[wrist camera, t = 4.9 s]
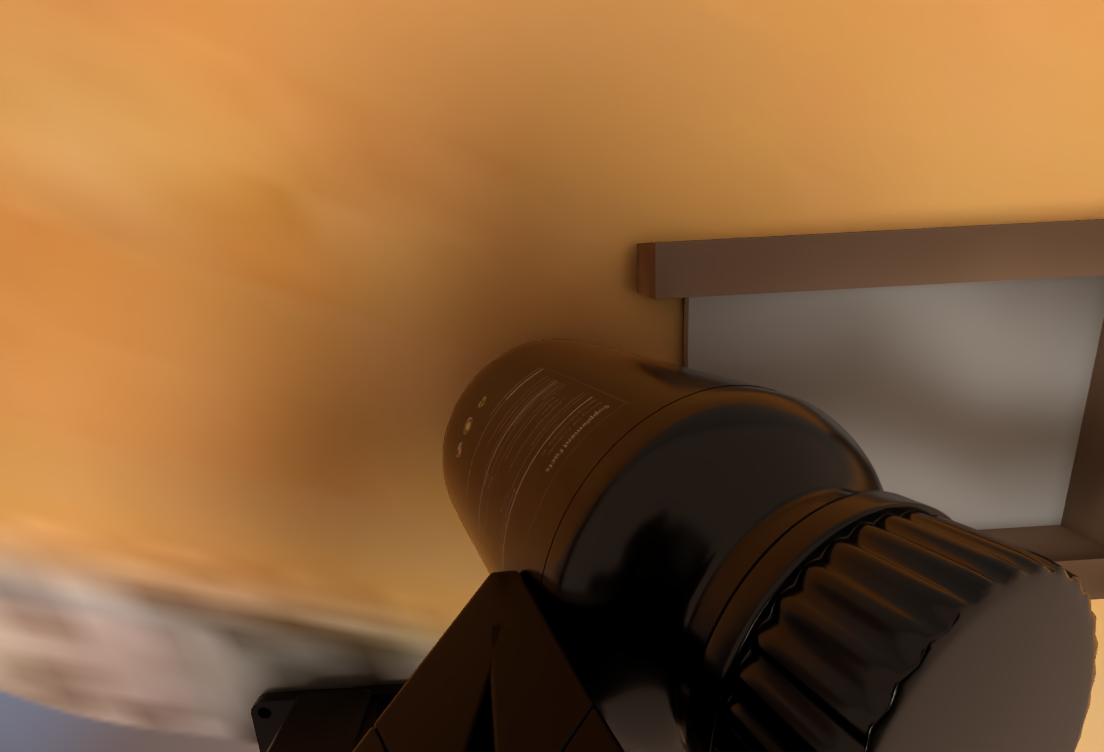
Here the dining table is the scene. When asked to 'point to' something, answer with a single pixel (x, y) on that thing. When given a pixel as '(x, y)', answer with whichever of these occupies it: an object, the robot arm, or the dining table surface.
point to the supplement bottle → (755, 568)
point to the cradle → (926, 360)
